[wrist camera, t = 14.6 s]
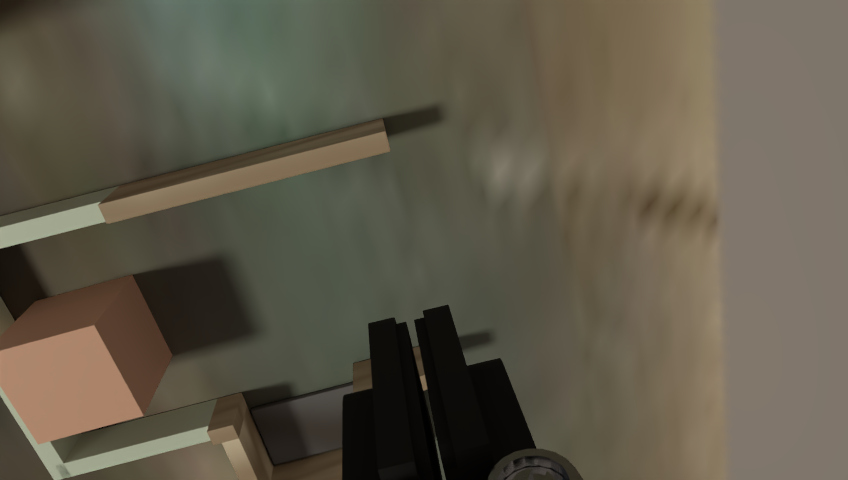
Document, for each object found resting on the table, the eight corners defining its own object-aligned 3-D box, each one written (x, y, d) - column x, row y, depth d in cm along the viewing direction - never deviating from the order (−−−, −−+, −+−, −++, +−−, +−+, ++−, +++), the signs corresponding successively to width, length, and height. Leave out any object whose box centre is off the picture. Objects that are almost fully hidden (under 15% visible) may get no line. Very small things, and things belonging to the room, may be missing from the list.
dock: (-60, 231, 32) (-92, 251, 29) (119, 185, 32) (101, 201, 29) (72, 450, 38) (54, 480, 35) (223, 411, 38) (214, 439, 35)
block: (35, 300, 34) (-20, 356, 29) (132, 274, 34) (94, 325, 29) (82, 379, 36) (38, 444, 31) (172, 355, 36) (143, 415, 31)
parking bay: (119, 185, 32) (97, 205, 29) (382, 118, 32) (385, 131, 29) (256, 482, 40) (248, 519, 37) (463, 428, 40) (471, 461, 37)
